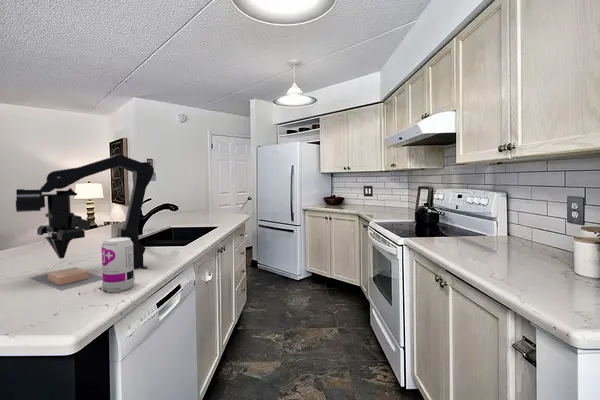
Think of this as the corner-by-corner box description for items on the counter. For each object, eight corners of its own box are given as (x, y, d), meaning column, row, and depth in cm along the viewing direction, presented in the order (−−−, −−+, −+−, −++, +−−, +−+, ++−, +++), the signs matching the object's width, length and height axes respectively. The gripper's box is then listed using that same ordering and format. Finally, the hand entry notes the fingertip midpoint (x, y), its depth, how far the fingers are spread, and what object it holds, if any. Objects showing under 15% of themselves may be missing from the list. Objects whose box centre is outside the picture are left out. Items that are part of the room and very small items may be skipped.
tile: (76, 274, 105) (88, 279, 101) (47, 281, 98) (59, 286, 94) (76, 267, 105) (88, 271, 101) (47, 273, 98) (59, 277, 94)
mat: (108, 281, 102) (107, 278, 102) (61, 293, 91) (61, 290, 91) (74, 270, 113) (74, 268, 113) (29, 280, 102) (29, 277, 102)
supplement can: (112, 295, 90) (110, 243, 89) (97, 289, 95) (95, 240, 94) (139, 286, 97) (138, 238, 96) (124, 282, 102) (123, 236, 101)
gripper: (101, 209, 102) (103, 257, 104) (74, 206, 112) (75, 249, 113) (61, 212, 93) (63, 264, 94) (35, 209, 103) (37, 256, 104)
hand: (61, 258), depth 102 cm, fingers closed
